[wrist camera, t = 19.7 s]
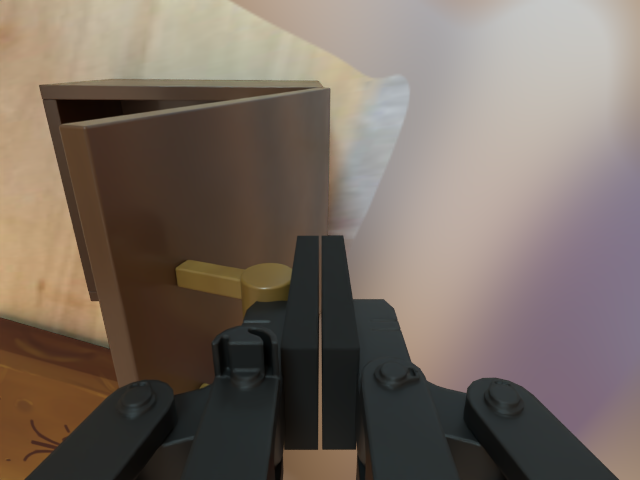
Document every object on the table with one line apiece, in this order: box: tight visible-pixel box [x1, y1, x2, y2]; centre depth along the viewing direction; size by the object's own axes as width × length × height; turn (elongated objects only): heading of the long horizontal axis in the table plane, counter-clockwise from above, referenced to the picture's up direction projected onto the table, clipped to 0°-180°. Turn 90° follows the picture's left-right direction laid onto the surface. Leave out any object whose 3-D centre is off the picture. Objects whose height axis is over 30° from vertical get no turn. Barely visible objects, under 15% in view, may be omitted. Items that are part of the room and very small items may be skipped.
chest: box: [39, 79, 324, 301], centre depth 32 cm, size 17×15×10 cm
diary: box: [0, 318, 119, 480], centre depth 44 cm, size 23×19×6 cm
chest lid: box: [59, 88, 330, 395], centre depth 19 cm, size 17×15×5 cm
